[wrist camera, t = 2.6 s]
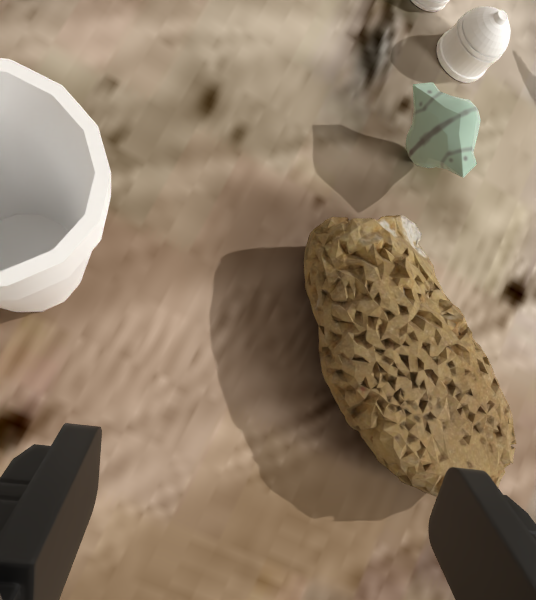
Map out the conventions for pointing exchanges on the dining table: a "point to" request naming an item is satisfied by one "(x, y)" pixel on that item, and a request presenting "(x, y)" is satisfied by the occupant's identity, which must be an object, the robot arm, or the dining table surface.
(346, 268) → the sponge
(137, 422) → the dining table surface
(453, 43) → the container set
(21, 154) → the foam cup
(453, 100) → the mint green faceted piece
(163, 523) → the dining table surface
